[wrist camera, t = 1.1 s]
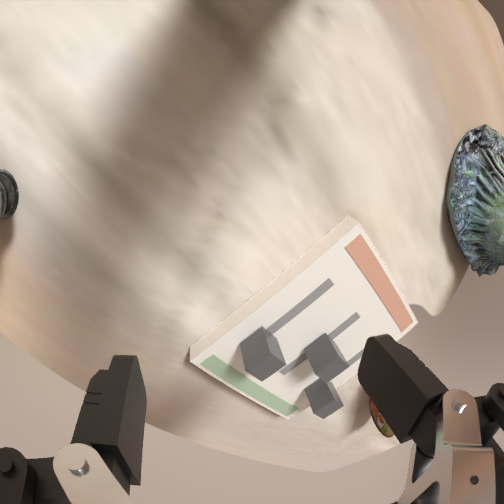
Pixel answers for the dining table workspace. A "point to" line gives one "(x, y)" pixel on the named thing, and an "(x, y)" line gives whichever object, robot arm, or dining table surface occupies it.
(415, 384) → the robot arm
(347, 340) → the board
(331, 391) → the block
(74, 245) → the dining table surface
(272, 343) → the block
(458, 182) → the green bell-shaped piece
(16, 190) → the grey chess pawn
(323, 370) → the block
